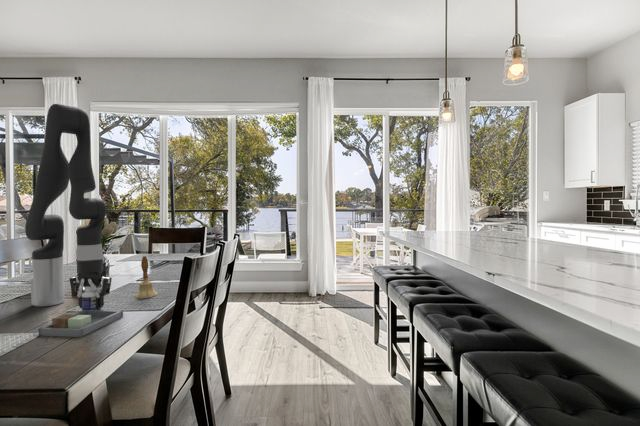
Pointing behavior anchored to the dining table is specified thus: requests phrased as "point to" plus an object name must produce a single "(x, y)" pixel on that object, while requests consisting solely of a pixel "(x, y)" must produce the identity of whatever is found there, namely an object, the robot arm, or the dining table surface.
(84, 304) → the pill bottle
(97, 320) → the parts tray
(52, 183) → the robot arm
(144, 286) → the hand bell
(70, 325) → the sage block
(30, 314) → the dining table surface
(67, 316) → the walnut block
